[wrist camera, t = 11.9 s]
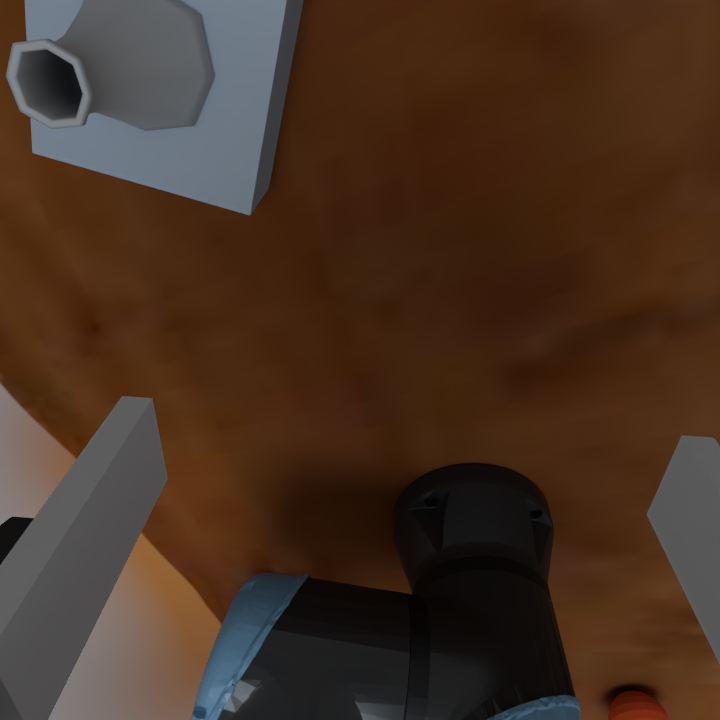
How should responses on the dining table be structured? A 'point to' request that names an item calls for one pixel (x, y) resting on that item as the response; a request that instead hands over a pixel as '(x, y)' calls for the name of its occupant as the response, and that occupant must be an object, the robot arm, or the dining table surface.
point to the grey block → (217, 116)
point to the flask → (117, 67)
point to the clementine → (636, 707)
